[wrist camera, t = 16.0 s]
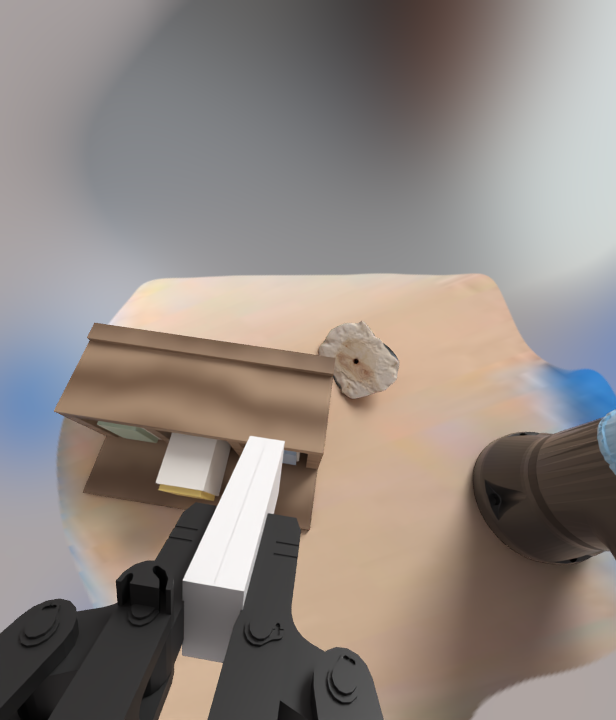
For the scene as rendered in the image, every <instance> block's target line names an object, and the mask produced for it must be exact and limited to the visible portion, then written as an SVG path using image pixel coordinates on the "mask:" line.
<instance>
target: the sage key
mask: <svg viewBox="0 0 616 720" xmlns="http://www.w3.org/2000/svg"><path fill="white" fill-rule="evenodd" d="M97 425H99V426H101V427H103V428H105V429H107V430H109V431H111V432H113V433H115V434H117V435H119V436H121V437H123V438H127V439H133V440H139V441H146V442H152V443H157V441H158V439H159V440H162V439H160V438H158V437H157V436H155V435H154V434H152V433H151V432H149V431H147V430H146V429H144V428H140V427H134V426H128V425H121V424H115V423H109V422H102V421H98V423H97Z"/></svg>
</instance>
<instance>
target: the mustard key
mask: <svg viewBox="0 0 616 720" xmlns="http://www.w3.org/2000/svg"><path fill="white" fill-rule="evenodd" d="M230 449H231V445H230V444H229V443H228V442H227V441H223V440H217V439H211V438H204V437H198V436H192V435H185V434H179V433H172V435H171V438H170V441H169V444H168V447H167V450H166V453H165V456H164V459H163V462H162V465H161V468H160V471H159V474H158V477H157V480H156V483H157V484H160V486H159V489H158V490H160V491H164V492H168V493H172V494H176V495H180V496H187V497H193V498H199V499H205V500H211V501H214V499H215V496H219V493H220V489H221V485H222V481H223V477H224V473H225V469H226V465H227V461H228V457H229V453H230Z"/></svg>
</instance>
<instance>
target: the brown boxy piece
mask: <svg viewBox="0 0 616 720" xmlns="http://www.w3.org/2000/svg"><path fill="white" fill-rule="evenodd" d="M87 338H88V339H89V340H90V341H89V343H88V345H87V347H86V349H85V351H84V353H83V355H82V357H81V359H80V361H79V363H78V365H77V367H76V369H75V371H74V373H73V374H72V376H71V378H70V380H69V382H68V384H67V386H66V388H65V390H64V393H63V394H62V396H61V398H60V400H59V402H58V404H57V406H56V408H55V410H54V412H57V413H59V414H61V415H63V416H65V417H67V418H69V419H71V420H74V421H76V422H78V423H80V424H82V425H84V426H86V427H88V428H91V429H93V430H95V431H97V432H99V433H101V434H103V435H105V436H106V438H105V441H104V443H103V445H102V448H101V450H100V452H99V455H98V457H97V460H96V462H95V464H94V467H93V469H92V471H91V474H90V476H89V479H88V481H87V483H86V486H85V488H84V491H83V493H89V494H95V495H101V496H107V497H113V498H119V499H125V500H131V501H137V502H143V503H149V504H155V505H161V506H167V507H174V508H180V509H186V510H187V509H188V508H189V507H190V506H192V505H193V504H194V503H195V502H197V503H203V504H210V505H216V506H218V503H219V501H220V499H221V497H222V495H223V493H224V491H225V488H226V486H227V484H228V482H229V480H230V478H231V476H232V473H233V471H234V469H235V467H236V465H237V463H238V461H239V458H240V456H241V454H242V452H243V450H244V448H245V446H246V443H247V441H248V439H249V437H250V436H255V437H261V438H268V439H274V440H281V441H285V444H284V450H287V451H294V452H300V457H299V461H296V465H291V464H285V463H282V469H281V477H280V485H279V494H278V498H277V502H276V506H275V510H274V514H276V515H282V516H289V517H295V518H297V521H298V524H299V527H300V528H301V529H307V530H310V523H311V516H312V508H313V500H314V492H315V485H316V477H317V469H318V467H319V464H320V461H321V459H322V456H323V453H324V446H325V438H326V429H327V421H328V413H329V405H330V397H331V389H332V381H333V375H334V367H335V359H336V358H333V357H326V356H319V355H312V354H305V353H299V352H292V351H285V350H278V349H271V348H264V347H257V346H251V345H244V344H237V343H230V342H223V341H216V340H209V339H202V338H196V337H189V336H182V335H175V334H168V333H161V332H154V331H147V330H141V329H134V328H127V327H120V326H113V325H106V324H99V323H94V325H93V327H92V329H91V331H90V333H89V335H88V337H87ZM98 421H102V422H109V423H115V424H121V425H128V426H134V427H140V428H144V429H146V430H147V431H149V432H151V433H152V434H154V435H155V436H157V437H158V438H160V439H162V440H159V439H158V441H157V443H152V442H146V441H139V440H133V439H127V438H123V437H121V436H119V435H117V434H115V433H113V432H111V431H109V430H107V429H105V428H103V427H101V426H99V425H97V423H98ZM172 433H179V434H185V435H192V436H198V437H204V438H211V439H217V440H223V441H227V442H228V443H229V444H230V445H231V449H230V453H229V457H228V461H227V465H226V469H225V473H224V477H223V481H222V485H221V489H220V493H219V496H215V499H214V501H211V500H205V499H199V498H193V497H187V496H180V495H176V494H172V493H168V492H164V491H160V490H158V489H159V486H160V484H157V483H156V480H157V477H158V474H159V471H160V468H161V465H162V462H163V459H164V456H165V453H166V450H167V447H168V444H169V441H170V438H171V435H172Z"/></svg>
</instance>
